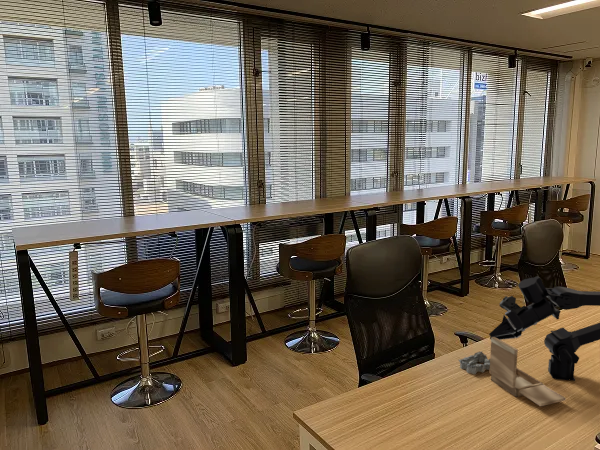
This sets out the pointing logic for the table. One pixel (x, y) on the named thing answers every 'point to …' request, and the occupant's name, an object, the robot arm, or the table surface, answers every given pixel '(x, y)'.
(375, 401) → the table surface
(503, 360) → the flap
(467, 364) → the egg carton
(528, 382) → the carton
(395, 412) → the table surface
